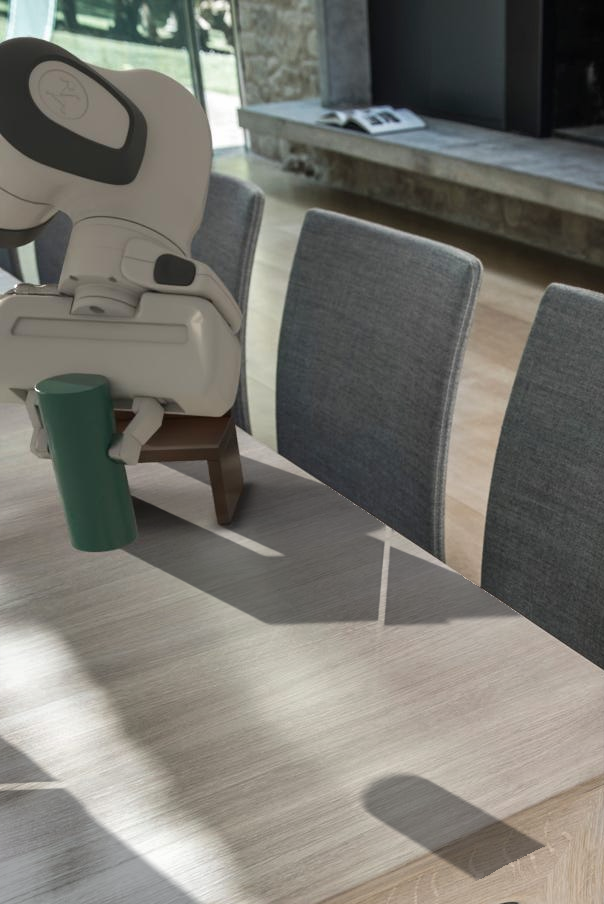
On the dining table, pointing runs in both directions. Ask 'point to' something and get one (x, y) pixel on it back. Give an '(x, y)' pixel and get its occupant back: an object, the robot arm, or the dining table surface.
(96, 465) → the can
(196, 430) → the bench
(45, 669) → the dining table surface
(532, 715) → the dining table surface
